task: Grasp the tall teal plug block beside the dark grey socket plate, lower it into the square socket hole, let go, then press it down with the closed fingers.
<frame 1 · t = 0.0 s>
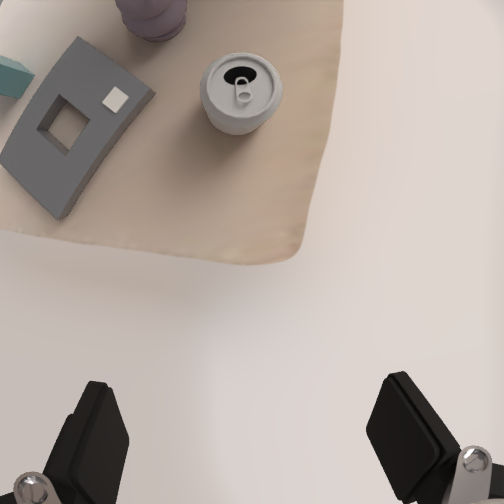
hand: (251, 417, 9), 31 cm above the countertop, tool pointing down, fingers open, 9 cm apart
cat figurine: (161, 22, 30), on the countertop
can: (236, 106, 35), on the countertop
socket: (71, 126, 33), on the countertop
plug: (19, 79, 29), on the countertop
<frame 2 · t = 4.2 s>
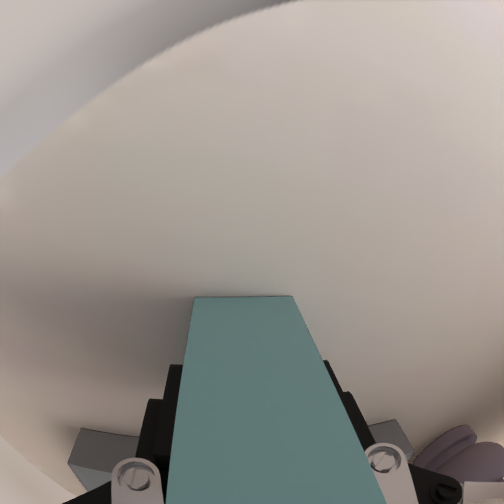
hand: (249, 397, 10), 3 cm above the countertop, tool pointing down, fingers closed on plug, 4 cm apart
cat figurine: (442, 447, 19), on the countertop
socket: (241, 491, 17), on the countertop
plug: (243, 347, 13), on the countertop, touching gripper
when the fingers open (4 cm above the countertop, at t = 9.5 s): plug stays where it is, resting in socket.
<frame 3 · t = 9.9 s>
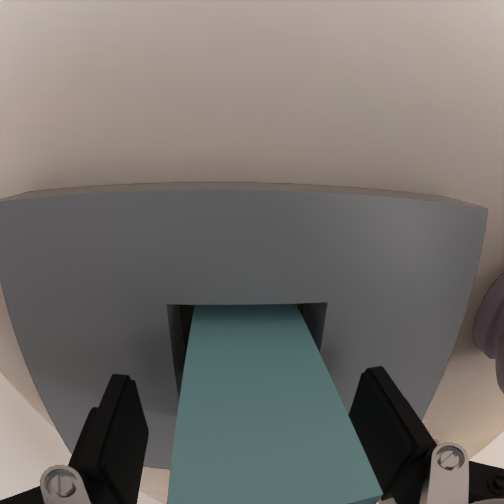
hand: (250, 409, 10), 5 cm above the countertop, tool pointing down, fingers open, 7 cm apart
cat figurine: (501, 307, 16), on the countertop
socket: (242, 337, 14), on the countertop
plug: (241, 337, 14), resting in socket
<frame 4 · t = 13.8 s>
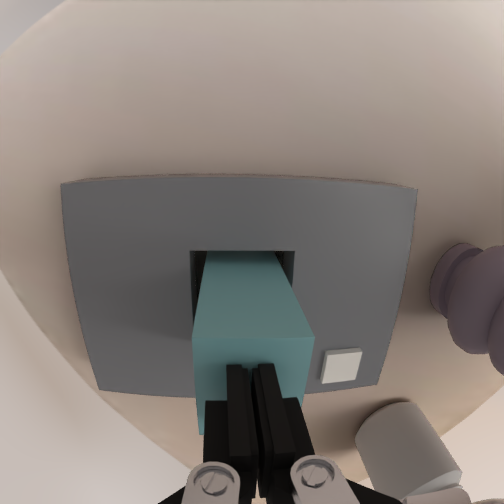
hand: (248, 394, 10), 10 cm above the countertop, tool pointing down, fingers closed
cat figurine: (456, 277, 22), on the countertop
can: (384, 421, 26), on the countertop
socket: (239, 285, 20), on the countertop
plug: (239, 285, 20), resting in socket, touching gripper
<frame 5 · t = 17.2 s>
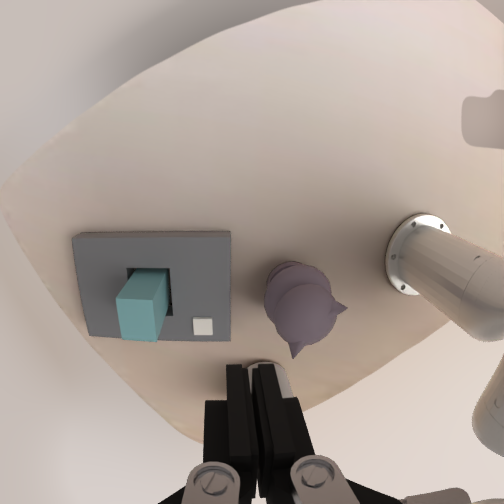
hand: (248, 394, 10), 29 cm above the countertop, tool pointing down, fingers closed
cat figurine: (289, 282, 41), on the countertop
can: (262, 375, 46), on the countertop
socket: (154, 283, 39), on the countertop
plug: (154, 283, 40), resting in socket
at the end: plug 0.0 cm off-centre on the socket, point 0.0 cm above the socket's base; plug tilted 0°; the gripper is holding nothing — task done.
